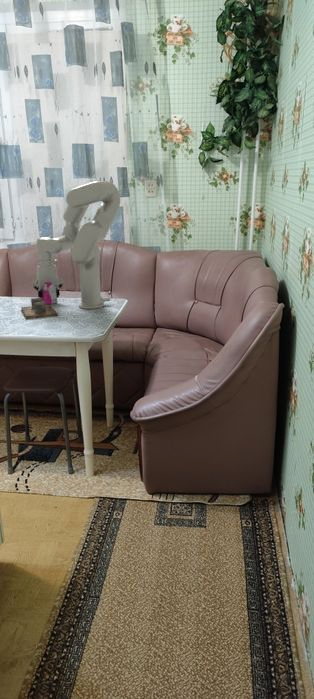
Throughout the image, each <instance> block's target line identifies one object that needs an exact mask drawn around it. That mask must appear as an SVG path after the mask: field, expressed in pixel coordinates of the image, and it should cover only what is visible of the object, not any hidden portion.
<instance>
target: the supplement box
mask: <svg viewBox="0 0 314 699" xmlns="http://www.w3.org/2000/svg"><path fill="white" fill-rule="evenodd" d="M41 293H42V302H45V304H46V305H49V304H51V306H52V305H56V304H59V303H58V302H59V301H58V298H57V291H56V286H54V285H52V282H46V283H45V284H44V287H42V288H41Z"/></svg>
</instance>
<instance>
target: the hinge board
mask: <svg viewBox="0 0 314 699" xmlns="http://www.w3.org/2000/svg"><path fill="white" fill-rule="evenodd" d="M30 304H31V306H22V307H21V311H22V313H23V316H24V318H25V319H26V320H33V319H34V320H35V319H41V318H42V319H44V318H53V317H58V315H59V314H58V312H57V311H56V309H55V308H54V307H53V306H52V305H51V304H49V305H46V304H45V302H42V298H40V297H35V298H34V297H33V298H30Z"/></svg>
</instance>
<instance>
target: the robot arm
mask: <svg viewBox="0 0 314 699" xmlns="http://www.w3.org/2000/svg"><path fill="white" fill-rule="evenodd" d="M65 199H66V204H67V207H66V209H65V211H64V213H63V216H62V217H63V220H64V221H65V226H64V230H63V232H61V233H62V234H61V236H57V237H53V238H51V237H50V236H42V237H37V239H36V249H37V260H38V262H37V263H38V265H37V266H36V278H35V279H33V281H31V282H30V285H31V286H32V287H33V289H35V290H36V291H37V298H42V293H41V288H42V287H44V284H45V283H46V282H52V285H54V286H56V291H57V299H58V298H59V296H60V294H61V293H60V291H61V288H62V287H63V286H64V284H65V282H66V281H65V280H64V279H62V278H61V277H59V276H58V275H59V274H58V269H57V266H56V263H58V260H57V259H55V256H54V255H59V254H60V255H61V254H62V253H65V252H69V251H70V257H71V260H72V261H73V262H74V263H75V264H76V265H77V264H78V265H79V281H80V283H79V284H80V285H79V286H80V302H79V303H78V308H80V309H85V310H95V309H101V308H103V307H105V302H111V297H110V296H109V297H107V296H105V297H104V296H102V294H101V293H102V292H101V276H100V274H101V272H100V260H101V249H100V246H99V245H98V244H97V243H98V242H102V241H104V240H105V238H107V235H108V232H109V231H110V228H111V226H112V224H113V222H114V220H115V218H116V215H117V213H118V211H119V209H120V204H121V195H120V192H119V190H118V187H117V186H116V185H115V184H114V183H113V182H111V181H108V180H100V181H97V180H96V181H92V182H89V183H87V184H84V185H80V186H77V187H75V188H71V189H70V190H69V191H68V192H67V194H66V197H65ZM98 202H101V204H100V205H99V207H98V208H97V210H96V212H95V214H94V217H93V218H92V220H91V221H90V222H86V223H85V224H83V225H81V228H80V224H81V222H82V220H83V218H84V216H85V215H86V212H87V210H88V208H89V207H90V205H92V204H95V203H98ZM59 282H60V283H59ZM36 284H37V285H38V286H36Z"/></svg>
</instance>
